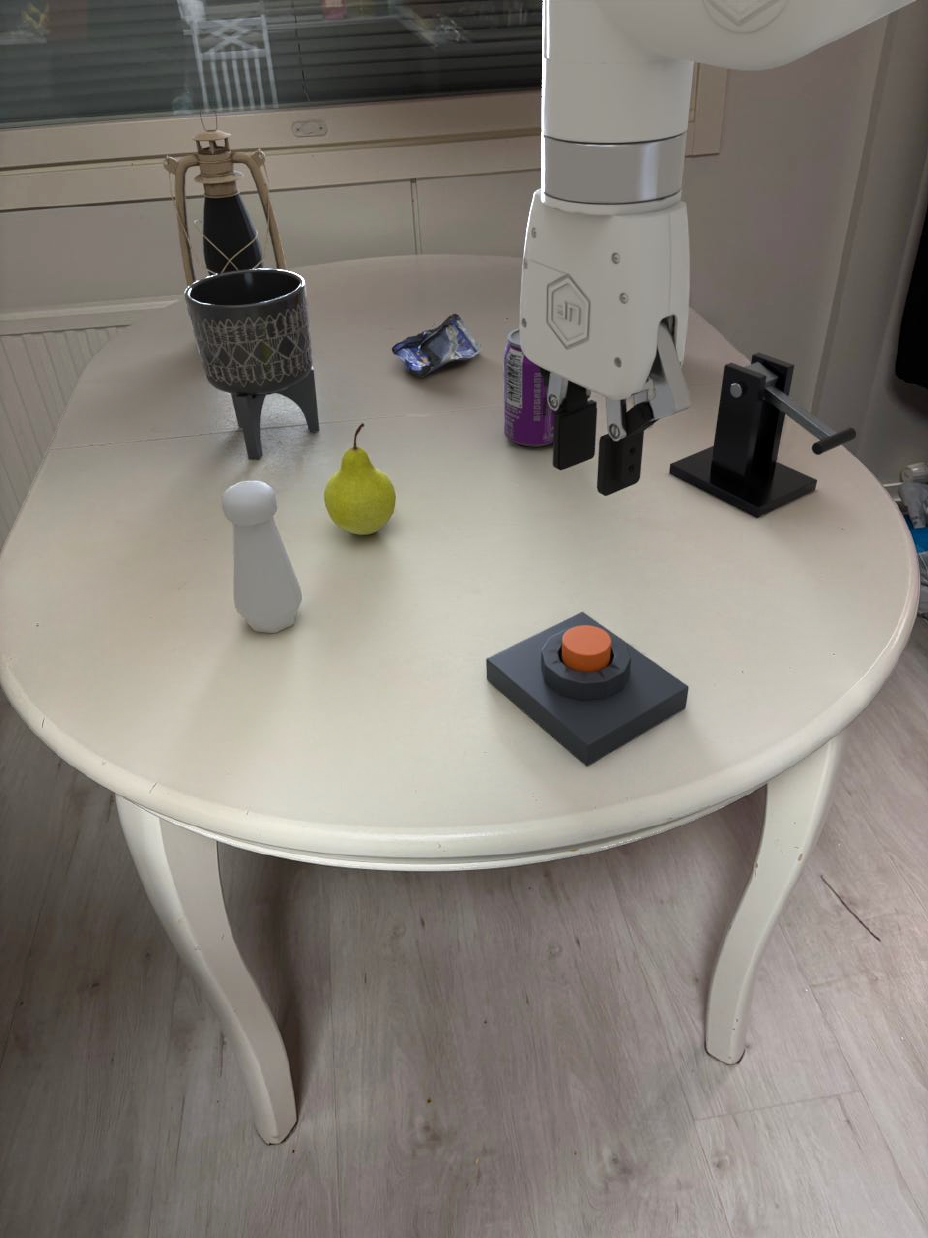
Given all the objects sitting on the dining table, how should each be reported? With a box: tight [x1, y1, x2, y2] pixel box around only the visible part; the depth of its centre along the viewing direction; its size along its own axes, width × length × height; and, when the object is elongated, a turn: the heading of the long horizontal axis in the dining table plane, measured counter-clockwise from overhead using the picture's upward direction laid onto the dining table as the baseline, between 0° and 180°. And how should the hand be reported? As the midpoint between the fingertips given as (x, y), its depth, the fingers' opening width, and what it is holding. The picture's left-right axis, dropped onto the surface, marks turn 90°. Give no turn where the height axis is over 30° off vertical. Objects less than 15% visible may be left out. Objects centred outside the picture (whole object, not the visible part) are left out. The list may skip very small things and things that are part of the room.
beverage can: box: [502, 327, 556, 448], centre depth 104 cm, size 7×7×12 cm
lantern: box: [162, 106, 288, 288], centre depth 130 cm, size 14×12×30 cm
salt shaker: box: [221, 480, 303, 634], centre depth 77 cm, size 6×6×13 cm
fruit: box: [323, 422, 397, 536], centre depth 89 cm, size 7×7×12 cm
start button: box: [562, 625, 611, 673], centre depth 69 cm, size 4×4×2 cm
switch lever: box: [744, 362, 857, 456], centre depth 88 cm, size 12×5×2 cm, turn 35°
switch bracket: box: [668, 352, 818, 519], centre depth 93 cm, size 12×9×13 cm
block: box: [485, 611, 690, 767], centre depth 71 cm, size 12×10×4 cm
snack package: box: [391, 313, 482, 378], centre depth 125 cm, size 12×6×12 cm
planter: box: [183, 268, 320, 461], centre depth 105 cm, size 13×13×18 cm
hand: (595, 472), depth 60 cm, fingers open, 3 cm apart
